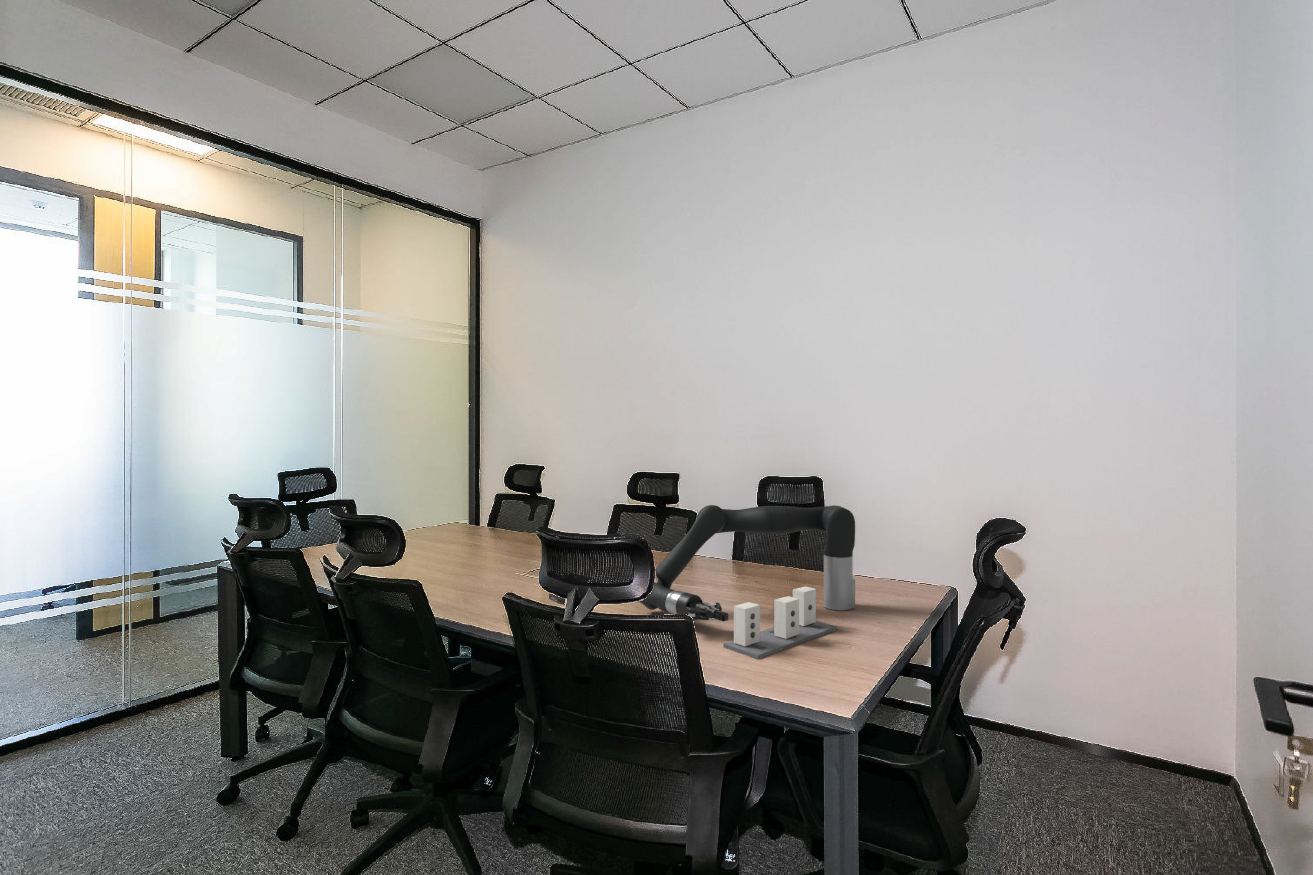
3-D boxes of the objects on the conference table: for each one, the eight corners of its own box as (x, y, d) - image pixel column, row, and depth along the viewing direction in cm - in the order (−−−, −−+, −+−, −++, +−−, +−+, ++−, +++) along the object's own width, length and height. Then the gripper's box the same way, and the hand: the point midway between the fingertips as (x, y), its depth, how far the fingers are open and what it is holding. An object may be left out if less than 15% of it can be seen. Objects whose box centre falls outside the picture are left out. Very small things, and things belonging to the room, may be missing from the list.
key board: (723, 647, 177) (723, 643, 177) (803, 620, 201) (803, 616, 201) (757, 659, 168) (757, 654, 168) (837, 629, 192) (837, 625, 192)
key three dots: (733, 642, 177) (733, 606, 177) (748, 637, 181) (748, 602, 181) (745, 646, 174) (745, 609, 174) (760, 641, 178) (760, 605, 178)
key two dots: (774, 635, 183) (774, 599, 183) (787, 630, 187) (787, 596, 187) (786, 639, 180) (786, 603, 180) (799, 634, 184) (799, 599, 184)
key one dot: (792, 623, 194) (792, 589, 194) (804, 619, 198) (804, 586, 198) (804, 626, 191) (804, 592, 191) (816, 622, 195) (816, 588, 195)
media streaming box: (601, 600, 227) (601, 591, 227) (564, 607, 218) (564, 598, 218) (581, 591, 239) (581, 583, 239) (545, 597, 230) (544, 589, 230)
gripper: (667, 596, 192) (709, 608, 179) (699, 588, 201) (742, 599, 188) (667, 621, 192) (710, 635, 179) (699, 612, 201) (742, 625, 188)
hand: (726, 617), depth 183 cm, fingers closed
